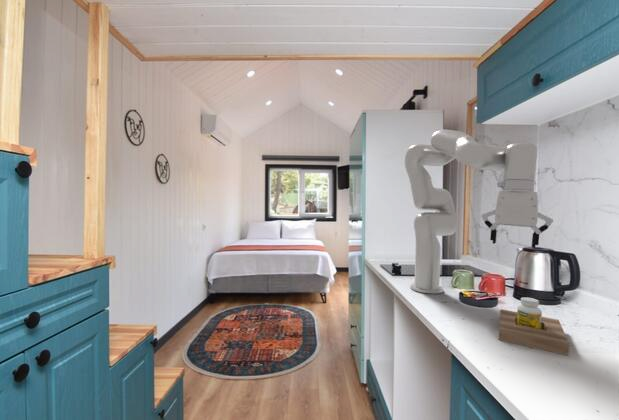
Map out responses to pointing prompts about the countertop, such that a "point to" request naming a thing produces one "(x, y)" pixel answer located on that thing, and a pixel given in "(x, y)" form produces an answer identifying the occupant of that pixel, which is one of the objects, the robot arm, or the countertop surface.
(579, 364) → the countertop surface
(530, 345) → the bottle caddy
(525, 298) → the supplement bottle
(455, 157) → the robot arm
